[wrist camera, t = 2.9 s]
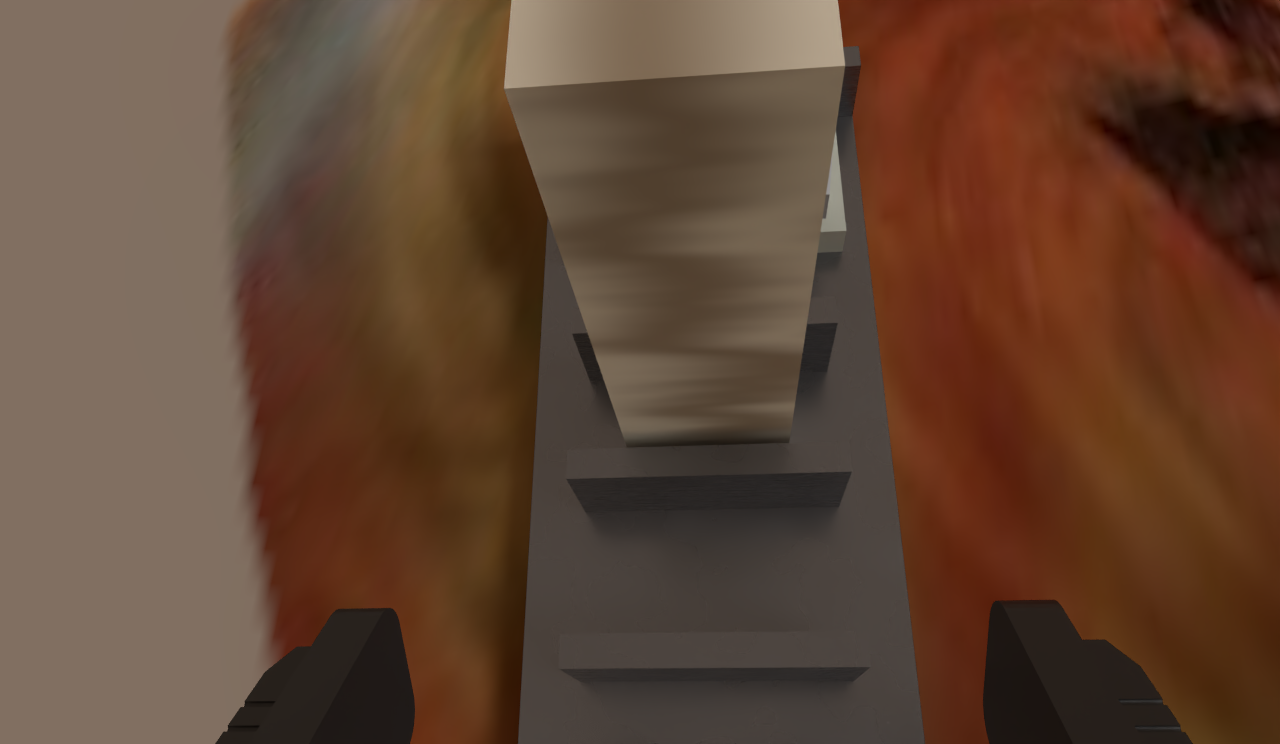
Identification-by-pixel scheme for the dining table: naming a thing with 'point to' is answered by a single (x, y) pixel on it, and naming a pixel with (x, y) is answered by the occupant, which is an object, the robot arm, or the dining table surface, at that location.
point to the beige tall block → (684, 195)
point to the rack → (722, 545)
